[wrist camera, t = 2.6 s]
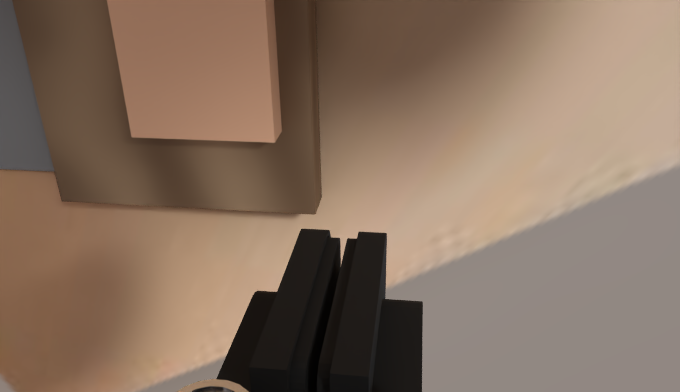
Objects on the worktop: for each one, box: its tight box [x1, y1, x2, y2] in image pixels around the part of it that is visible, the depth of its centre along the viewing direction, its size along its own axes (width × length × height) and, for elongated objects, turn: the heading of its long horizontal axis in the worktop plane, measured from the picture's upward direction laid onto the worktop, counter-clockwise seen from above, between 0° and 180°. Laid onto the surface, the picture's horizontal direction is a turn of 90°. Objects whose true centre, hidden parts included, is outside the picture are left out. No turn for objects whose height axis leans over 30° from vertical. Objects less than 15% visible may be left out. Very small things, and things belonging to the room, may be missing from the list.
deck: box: [12, 0, 322, 214], centre depth 29 cm, size 14×16×2 cm
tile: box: [107, 0, 282, 143], centre depth 28 cm, size 7×7×2 cm
